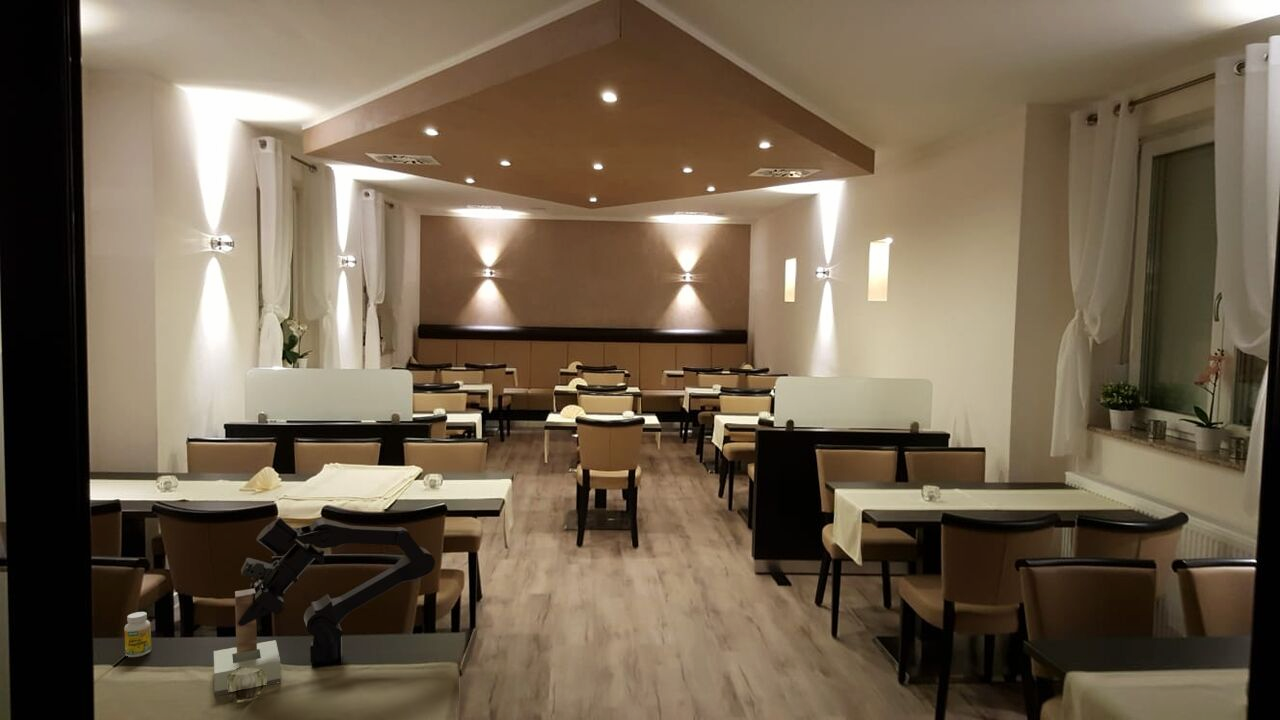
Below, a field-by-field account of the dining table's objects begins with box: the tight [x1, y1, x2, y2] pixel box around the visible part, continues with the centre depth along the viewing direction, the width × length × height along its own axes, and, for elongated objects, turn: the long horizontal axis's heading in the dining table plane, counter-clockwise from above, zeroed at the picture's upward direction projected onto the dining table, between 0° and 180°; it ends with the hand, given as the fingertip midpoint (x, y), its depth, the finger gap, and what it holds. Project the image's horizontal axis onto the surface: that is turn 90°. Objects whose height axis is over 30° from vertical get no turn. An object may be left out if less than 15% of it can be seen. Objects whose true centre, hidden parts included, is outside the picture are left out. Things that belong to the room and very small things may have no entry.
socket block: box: [213, 639, 282, 697], centre depth 175 cm, size 13×13×5 cm
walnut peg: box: [234, 588, 258, 654], centre depth 174 cm, size 4×4×13 cm
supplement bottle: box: [123, 611, 152, 658], centre depth 187 cm, size 5×5×10 cm
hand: (239, 621), depth 173 cm, fingers closed on walnut peg, 4 cm apart
